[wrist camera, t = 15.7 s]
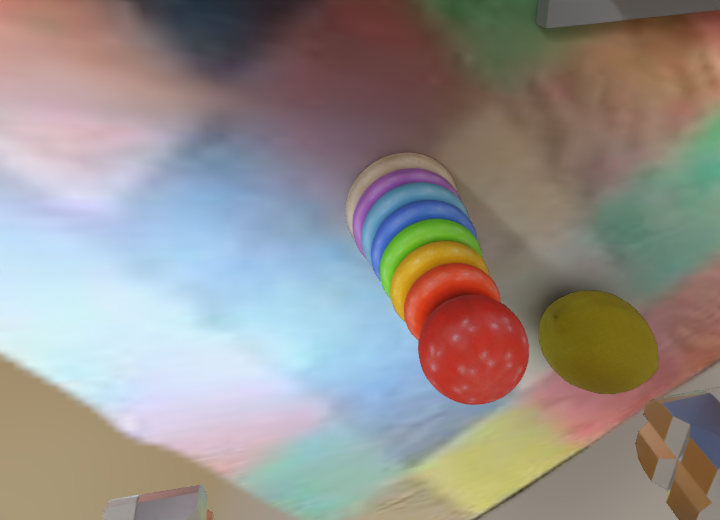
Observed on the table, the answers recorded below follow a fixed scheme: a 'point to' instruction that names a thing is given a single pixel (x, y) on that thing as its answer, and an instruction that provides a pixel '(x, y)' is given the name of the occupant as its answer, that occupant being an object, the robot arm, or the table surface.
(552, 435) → the table surface
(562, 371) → the lemon
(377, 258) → the stacking toy
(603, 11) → the rod stand
